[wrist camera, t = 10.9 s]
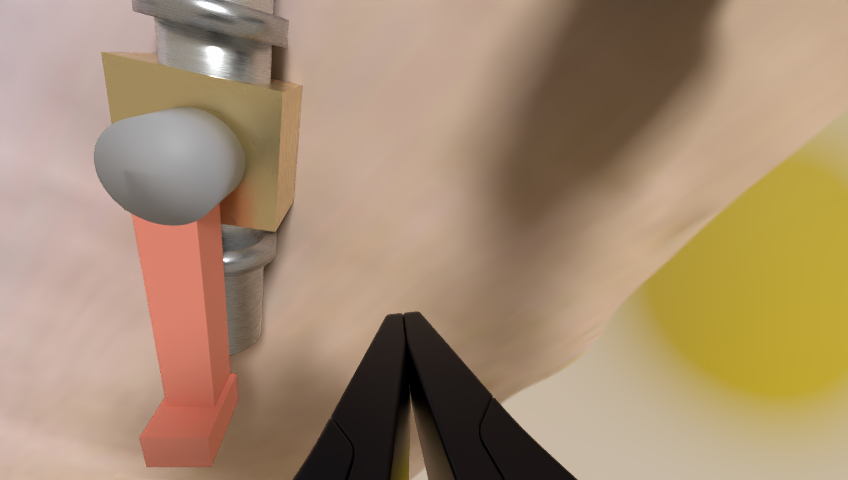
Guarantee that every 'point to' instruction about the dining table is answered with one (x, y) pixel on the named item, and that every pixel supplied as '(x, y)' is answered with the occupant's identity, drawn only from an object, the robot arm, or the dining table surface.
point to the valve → (234, 105)
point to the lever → (180, 267)
